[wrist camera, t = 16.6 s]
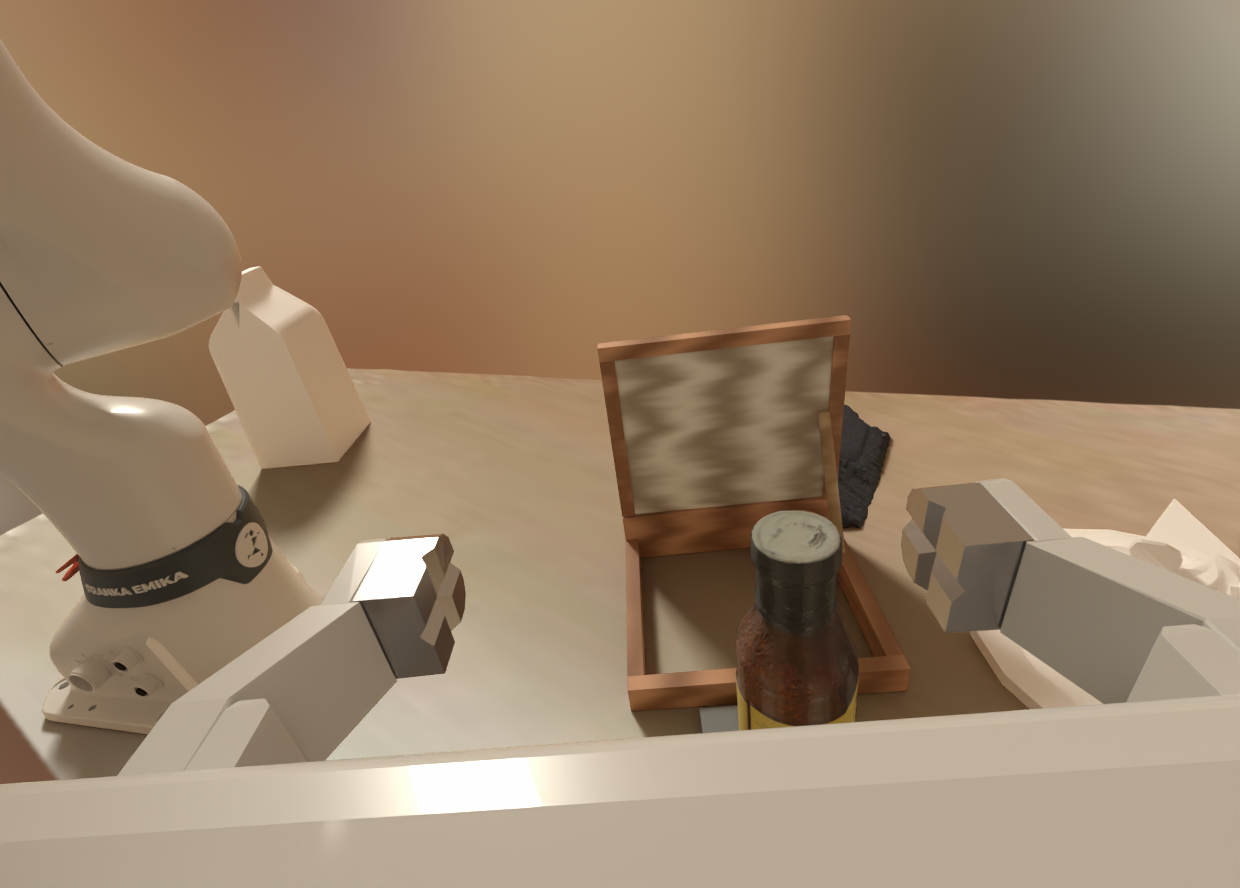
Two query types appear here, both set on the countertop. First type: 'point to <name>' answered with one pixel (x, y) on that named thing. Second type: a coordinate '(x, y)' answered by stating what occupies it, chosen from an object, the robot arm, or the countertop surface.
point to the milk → (285, 377)
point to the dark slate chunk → (859, 466)
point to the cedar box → (730, 469)
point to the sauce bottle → (795, 629)
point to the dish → (1167, 546)
